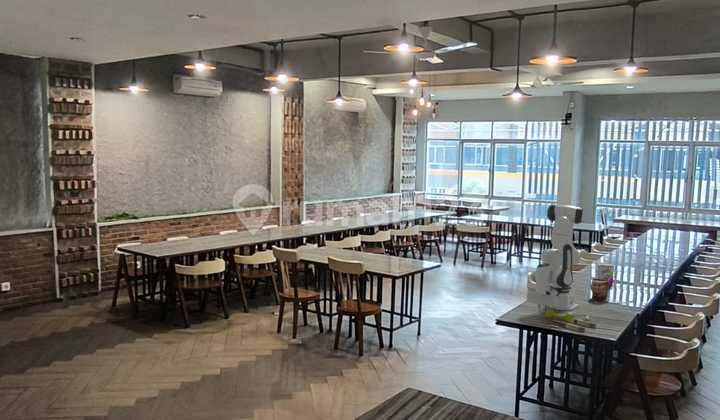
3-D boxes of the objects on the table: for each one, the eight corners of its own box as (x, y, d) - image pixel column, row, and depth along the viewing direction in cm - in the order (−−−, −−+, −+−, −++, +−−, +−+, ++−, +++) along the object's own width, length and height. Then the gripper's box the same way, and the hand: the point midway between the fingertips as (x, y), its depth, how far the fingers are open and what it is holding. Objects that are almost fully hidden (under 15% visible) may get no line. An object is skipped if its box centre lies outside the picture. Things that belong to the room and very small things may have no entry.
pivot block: (585, 322, 346) (585, 316, 345) (590, 324, 344) (590, 317, 343) (582, 323, 344) (583, 316, 343) (587, 325, 342) (587, 318, 341)
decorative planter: (592, 294, 416) (593, 275, 415) (610, 297, 410) (611, 277, 409) (587, 300, 399) (588, 281, 397) (606, 303, 393) (607, 283, 391)
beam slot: (555, 317, 356) (555, 313, 356) (595, 327, 337) (595, 323, 337) (542, 321, 347) (542, 317, 347) (583, 332, 328) (583, 327, 328)
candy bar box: (597, 285, 446) (598, 264, 444) (596, 284, 451) (597, 263, 449) (613, 286, 442) (614, 265, 441) (612, 285, 447) (613, 264, 446)
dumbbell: (543, 321, 349) (543, 309, 348) (549, 318, 355) (549, 307, 354) (570, 326, 338) (570, 314, 338) (575, 323, 344) (576, 312, 343)
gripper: (524, 287, 360) (524, 309, 361) (554, 293, 345) (553, 316, 346) (530, 286, 364) (529, 307, 365) (560, 292, 349) (559, 314, 350)
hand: (541, 312), depth 356 cm, fingers closed
